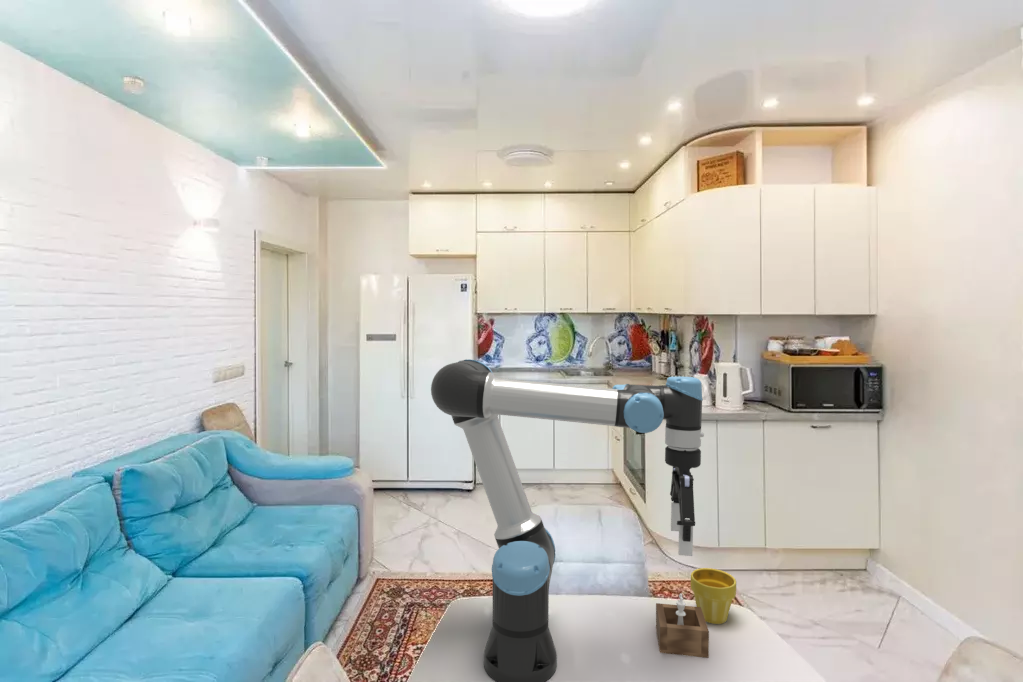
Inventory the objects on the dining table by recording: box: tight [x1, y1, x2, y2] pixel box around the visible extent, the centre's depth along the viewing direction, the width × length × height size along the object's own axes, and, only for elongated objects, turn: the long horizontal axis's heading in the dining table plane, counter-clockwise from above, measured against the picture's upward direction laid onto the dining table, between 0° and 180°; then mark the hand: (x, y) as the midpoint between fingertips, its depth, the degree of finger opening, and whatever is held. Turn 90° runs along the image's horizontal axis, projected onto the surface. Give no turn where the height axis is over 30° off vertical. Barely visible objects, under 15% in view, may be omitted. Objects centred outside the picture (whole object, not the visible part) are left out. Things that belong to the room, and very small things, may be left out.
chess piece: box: [675, 593, 687, 625], centre depth 120 cm, size 5×5×10 cm
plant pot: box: [690, 567, 737, 625], centre depth 130 cm, size 10×10×10 cm
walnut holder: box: [655, 602, 710, 659], centre depth 120 cm, size 10×10×6 cm
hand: (680, 542), depth 119 cm, fingers open, 13 cm apart
